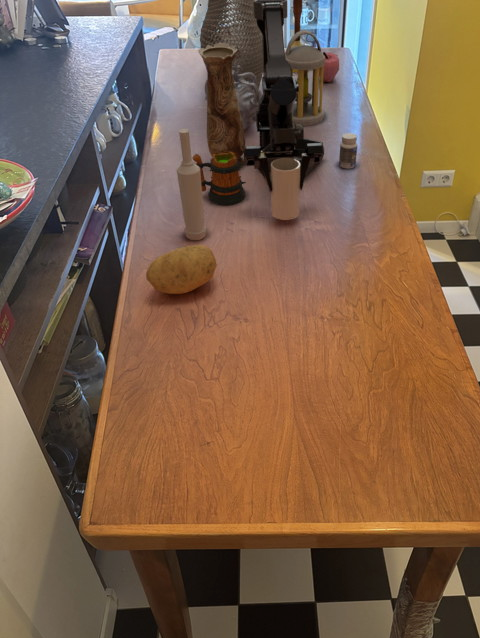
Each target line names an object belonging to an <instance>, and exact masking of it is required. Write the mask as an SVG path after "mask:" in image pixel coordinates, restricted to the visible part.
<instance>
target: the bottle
mask: <svg viewBox="0 0 480 638" xmlns="http://www.w3.org/2000/svg"><path fill="white" fill-rule="evenodd" d="M178 135H179V143H180V149H181V159H182V160H181V162H180V165H179V166H177V168H176V175H177V181H178V190H179V194H180V195H179V196H180V201H181V208H182V215H183V222H184V228H183V230H184V234H185V237H186V238H187V239H188V240H191V241H200V240H202V239H204V238H205V237H206V236H207V226H206V223H205V213H204V211H205V210H204V199H203V191H202V185H201V173H200V167H199V166H197V165H196V162H195V161H194V160H193V159H192V158H193V156H192V151H191V142H190V141H191V140H190V131H189V129H188V128H181V129H179V130H178Z"/></svg>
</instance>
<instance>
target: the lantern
mask: <svg viewBox="0 0 480 638" xmlns="http://www.w3.org/2000/svg"><path fill="white" fill-rule="evenodd" d="M303 35H308V36H311V37H312V38H313V40H314V42H315V44H316V47H315V46H312V45H307V44H303V45H299V46H295V47H292V48H291V46H292V44H293V43H294V41H295V40H296V39H297V38H298V37H299V36H300V37H301V36H303ZM286 46H287V47H286V49H285V59H286V60H287V61H288V62H289V64H290V65H291V71H292V76H294V72H293V69H295V70H298V72H297V79H296V81H297V83H298V85H299V92H297V94H296V99H295V104H294V108H293V111H292V113H293V126H295V124H303V127H305V126H313V125H317V124H319V123H321V122H322V121H324V119H325V111H324V110H323V90H324V81H323V70H324V64H325V56H324V54H323V52H322V48H321V44H320V41H319V39H318V38H317V37H316V35H315V34H313V33H312V32H311V31H309V30H305V29H302V30H300V31H299V32H297V33H296V34H295V35H292V36H291V38H290V40H288V42H287V45H286ZM320 67H321V73H320V77H319V68H320ZM308 70H309V71H311V70H312V85H311V93H310V92H309V71H308ZM309 102H311V103H309Z"/></svg>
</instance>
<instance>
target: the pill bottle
mask: <svg viewBox="0 0 480 638" xmlns="http://www.w3.org/2000/svg"><path fill="white" fill-rule="evenodd" d="M357 140H358V135H357V134H356V133H352V132H347V133H344V134H342V136H341V142H340V144H339V156H338V157H339V159H338V160H339V161H338V166H339V167H340V168H341V169H353V168H355V166H356V165H357V156H358V142H357Z"/></svg>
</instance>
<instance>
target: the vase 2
mask: <svg viewBox="0 0 480 638" xmlns="http://www.w3.org/2000/svg"><path fill="white" fill-rule="evenodd" d="M197 52H198V53H199V55H200V57H201V58H202V61H203V60H204V61H205V63H206V65H207V70H206V75H207V76H206V77H207V79H206V80H207V81H208V85H207V100H206V142H207V147H208V151H209V154H210V156H211V157H212V156H213V154H220V153H228V152H229V151H230V152H233V153H234V154H235V156H236V159H239V160H238V162H239V163H242V164H244V159H243V158H242V156H244V148H245V147H246V135H245V130H244V128H243V123H242V118H241V114H240V109H239V104H238V100H237V95H236V91H235V85H234V80H233V74H232V62H233V59H234V57H235V54H236V52H237V49H235V47H234V46H232V47H229V45H227V44H224V43H218V44H215V46H214V47H212V46H210V45H208V46H207V47H206V49H204V48H201V47H200V48H199V49H198V51H197ZM204 61H203V62H204ZM243 166H244V165H242V166H240V167H239V169H241V167H243Z"/></svg>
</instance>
